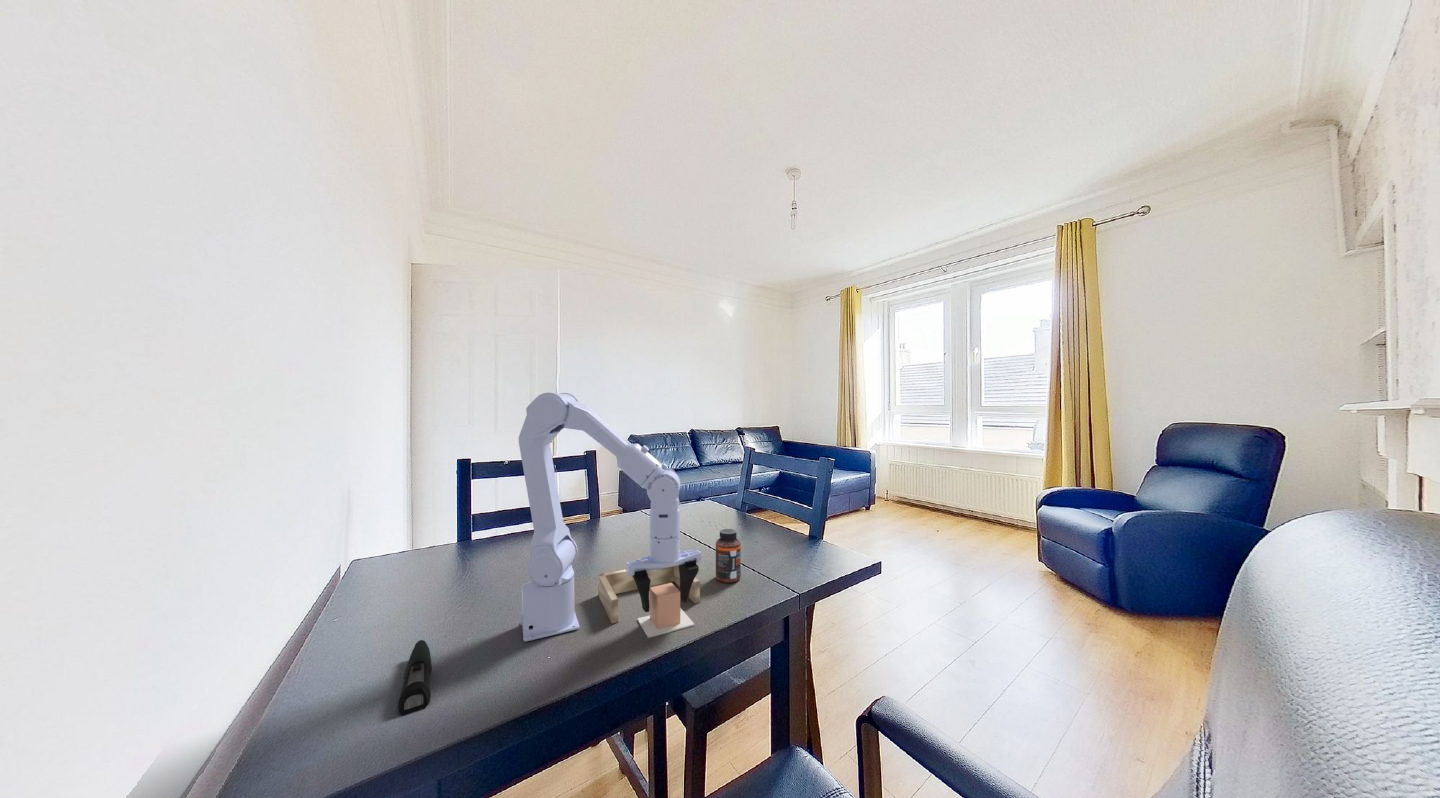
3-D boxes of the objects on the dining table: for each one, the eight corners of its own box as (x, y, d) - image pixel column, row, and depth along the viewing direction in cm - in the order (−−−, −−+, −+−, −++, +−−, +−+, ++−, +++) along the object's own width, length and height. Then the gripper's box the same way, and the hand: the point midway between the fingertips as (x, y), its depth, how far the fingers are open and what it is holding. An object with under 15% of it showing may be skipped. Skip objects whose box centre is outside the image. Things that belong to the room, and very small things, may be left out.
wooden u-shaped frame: (611, 623, 82) (611, 600, 82) (598, 595, 93) (598, 574, 93) (699, 602, 90) (699, 580, 90) (677, 578, 102) (677, 559, 102)
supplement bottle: (741, 584, 99) (740, 535, 99) (715, 584, 99) (715, 535, 99) (740, 573, 105) (740, 527, 104) (716, 573, 105) (715, 527, 105)
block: (657, 629, 79) (657, 597, 79) (650, 618, 83) (649, 587, 83) (680, 623, 81) (680, 591, 81) (671, 612, 85) (671, 582, 85)
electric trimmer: (435, 653, 73) (434, 635, 73) (430, 708, 60) (429, 685, 60) (407, 661, 71) (407, 642, 71) (396, 719, 58) (396, 696, 58)
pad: (648, 638, 77) (648, 636, 77) (637, 619, 83) (637, 618, 83) (694, 625, 81) (694, 624, 81) (680, 609, 87) (680, 607, 87)
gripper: (691, 523, 89) (691, 588, 89) (621, 533, 82) (622, 604, 82) (706, 533, 82) (706, 603, 82) (631, 545, 76) (632, 621, 76)
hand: (665, 605), depth 82 cm, fingers open, 7 cm apart
